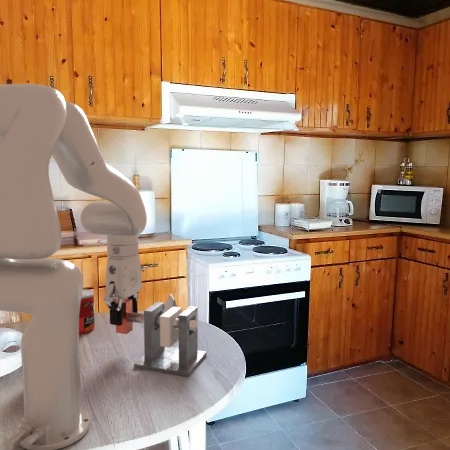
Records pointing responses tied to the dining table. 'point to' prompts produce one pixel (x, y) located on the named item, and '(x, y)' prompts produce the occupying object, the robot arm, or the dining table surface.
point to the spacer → (169, 327)
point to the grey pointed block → (170, 303)
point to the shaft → (142, 319)
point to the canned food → (86, 312)
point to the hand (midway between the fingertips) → (124, 319)
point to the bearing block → (174, 356)
